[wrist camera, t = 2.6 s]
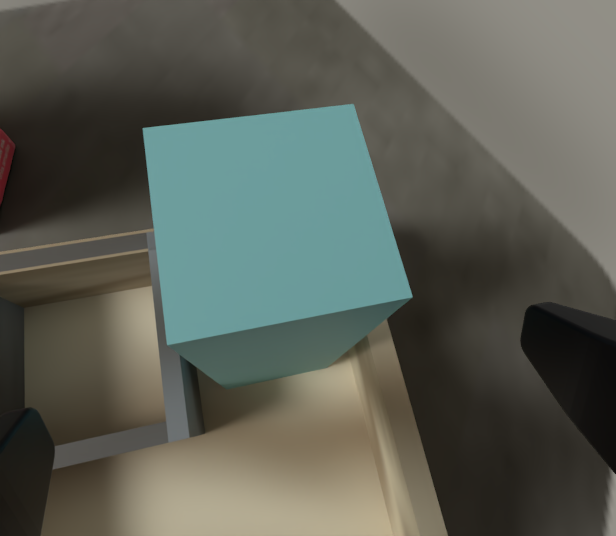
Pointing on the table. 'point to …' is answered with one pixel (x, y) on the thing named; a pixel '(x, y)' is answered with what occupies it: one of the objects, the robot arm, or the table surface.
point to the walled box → (197, 415)
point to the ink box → (5, 160)
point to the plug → (270, 242)
